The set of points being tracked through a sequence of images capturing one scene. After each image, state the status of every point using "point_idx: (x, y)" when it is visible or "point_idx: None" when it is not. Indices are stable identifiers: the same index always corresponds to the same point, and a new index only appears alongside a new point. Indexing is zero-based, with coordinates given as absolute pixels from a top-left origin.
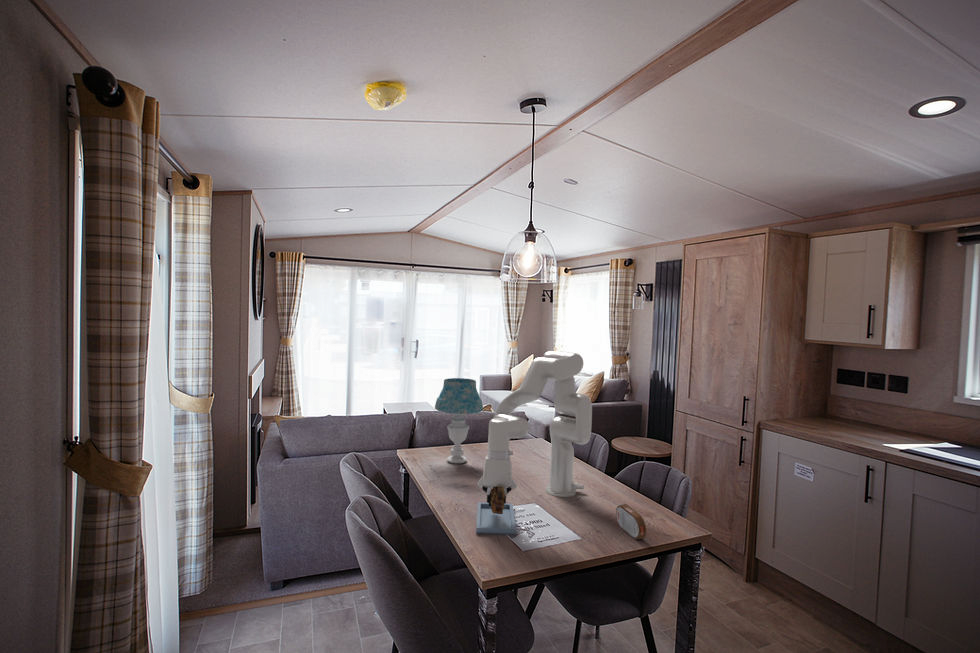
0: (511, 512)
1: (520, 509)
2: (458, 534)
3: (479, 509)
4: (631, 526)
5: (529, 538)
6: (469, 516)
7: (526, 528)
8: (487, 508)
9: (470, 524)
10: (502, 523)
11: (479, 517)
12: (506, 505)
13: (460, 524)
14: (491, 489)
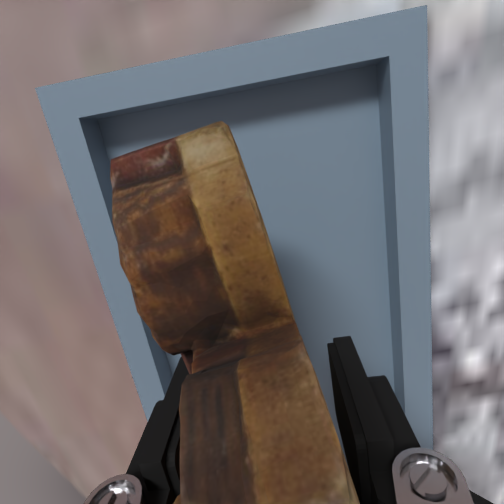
0: (408, 252)
1: (490, 16)
2: None
3: (112, 258)
4: None
5: (498, 476)
6: (71, 284)
7: (497, 370)
8: (165, 130)
9: (120, 390)
10: (329, 370)
11: (157, 392)
12: (351, 64)
13: (63, 401)
14: (135, 274)
